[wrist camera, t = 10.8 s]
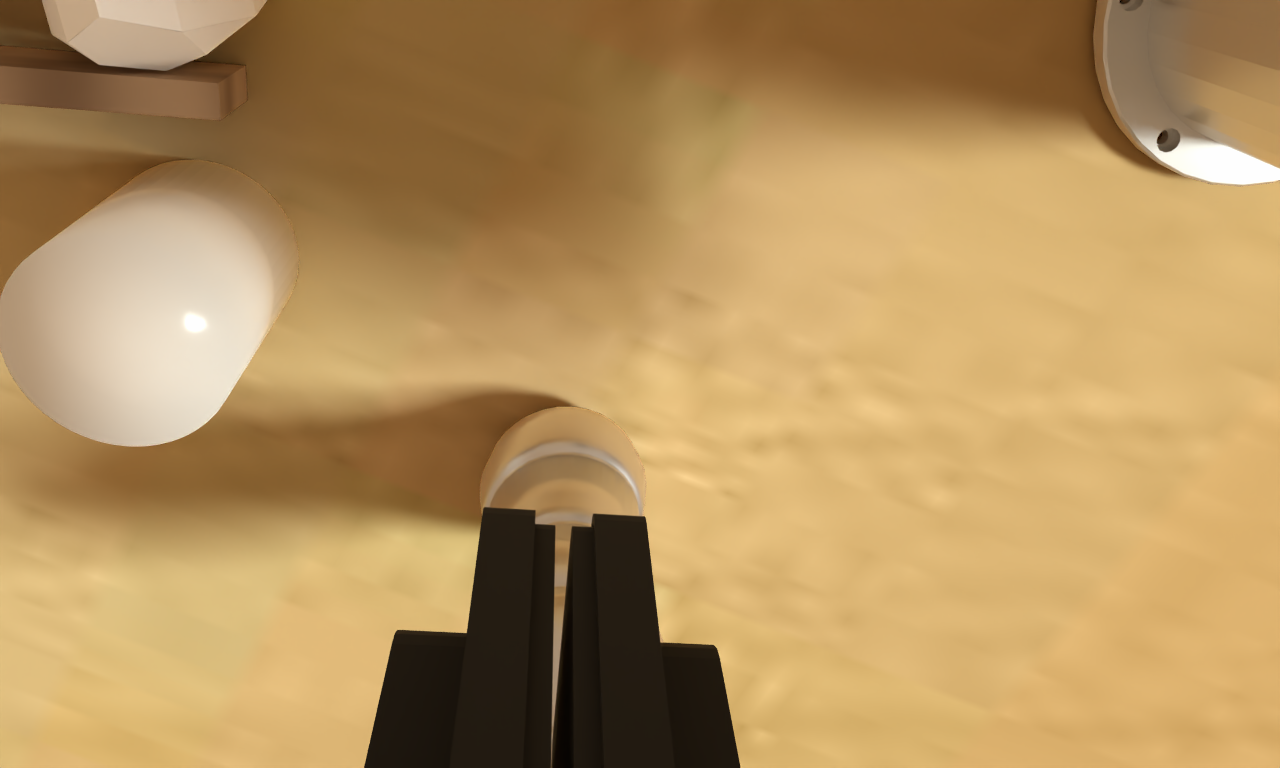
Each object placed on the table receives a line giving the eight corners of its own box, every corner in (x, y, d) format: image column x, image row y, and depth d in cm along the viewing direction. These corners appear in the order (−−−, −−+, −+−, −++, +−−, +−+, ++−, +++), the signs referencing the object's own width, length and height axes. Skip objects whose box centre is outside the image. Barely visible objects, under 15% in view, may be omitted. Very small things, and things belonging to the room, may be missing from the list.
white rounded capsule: (296, 167, 42) (230, 241, 33) (301, 343, 44) (242, 452, 36) (97, 152, 41) (-20, 225, 33) (116, 332, 44) (13, 440, 36)
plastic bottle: (451, 471, 47) (379, 852, 29) (556, 356, 45) (550, 687, 27) (570, 554, 49) (574, 960, 31) (675, 447, 47) (744, 813, 29)
